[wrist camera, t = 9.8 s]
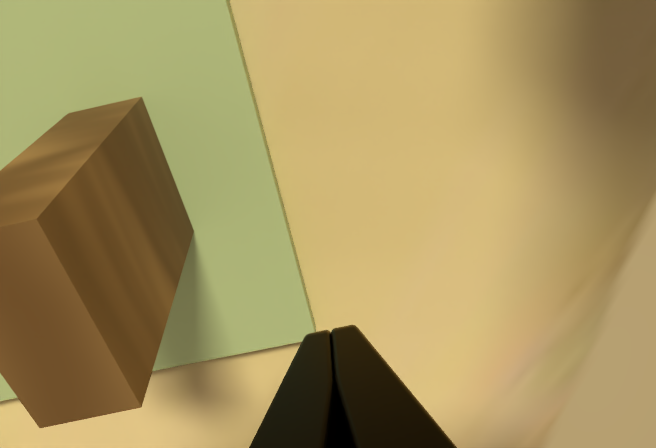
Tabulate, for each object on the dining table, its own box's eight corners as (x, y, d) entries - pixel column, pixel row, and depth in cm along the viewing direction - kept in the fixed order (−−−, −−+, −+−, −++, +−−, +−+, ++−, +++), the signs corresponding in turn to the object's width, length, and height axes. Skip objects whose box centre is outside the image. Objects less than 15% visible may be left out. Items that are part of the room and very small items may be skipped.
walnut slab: (141, 96, 16) (36, 218, 9) (194, 230, 19) (141, 407, 12) (68, 113, 16) (-91, 247, 10) (129, 245, 19) (39, 428, 12)
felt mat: (188, -153, 14) (183, -158, 13) (315, 326, 22) (316, 338, 22) (-339, -33, 14) (-370, -31, 14) (-22, 393, 23) (-32, 407, 22)
